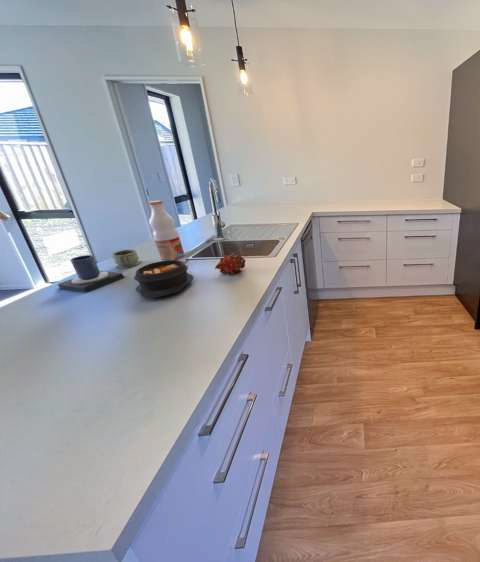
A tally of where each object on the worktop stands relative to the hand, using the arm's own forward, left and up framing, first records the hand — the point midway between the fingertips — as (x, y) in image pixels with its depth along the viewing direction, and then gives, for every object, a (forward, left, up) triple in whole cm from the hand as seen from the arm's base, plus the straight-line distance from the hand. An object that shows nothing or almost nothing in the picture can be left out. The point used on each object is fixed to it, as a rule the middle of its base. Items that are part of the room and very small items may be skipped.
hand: (1, 221), depth 99 cm
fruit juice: (+21, +39, -28) cm, 52 cm away
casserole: (+41, +17, -28) cm, 52 cm away
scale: (+8, +13, -27) cm, 31 cm away
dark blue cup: (+8, +13, -25) cm, 29 cm away
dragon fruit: (+56, +35, -28) cm, 71 cm away
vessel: (+2, +32, -28) cm, 42 cm away
